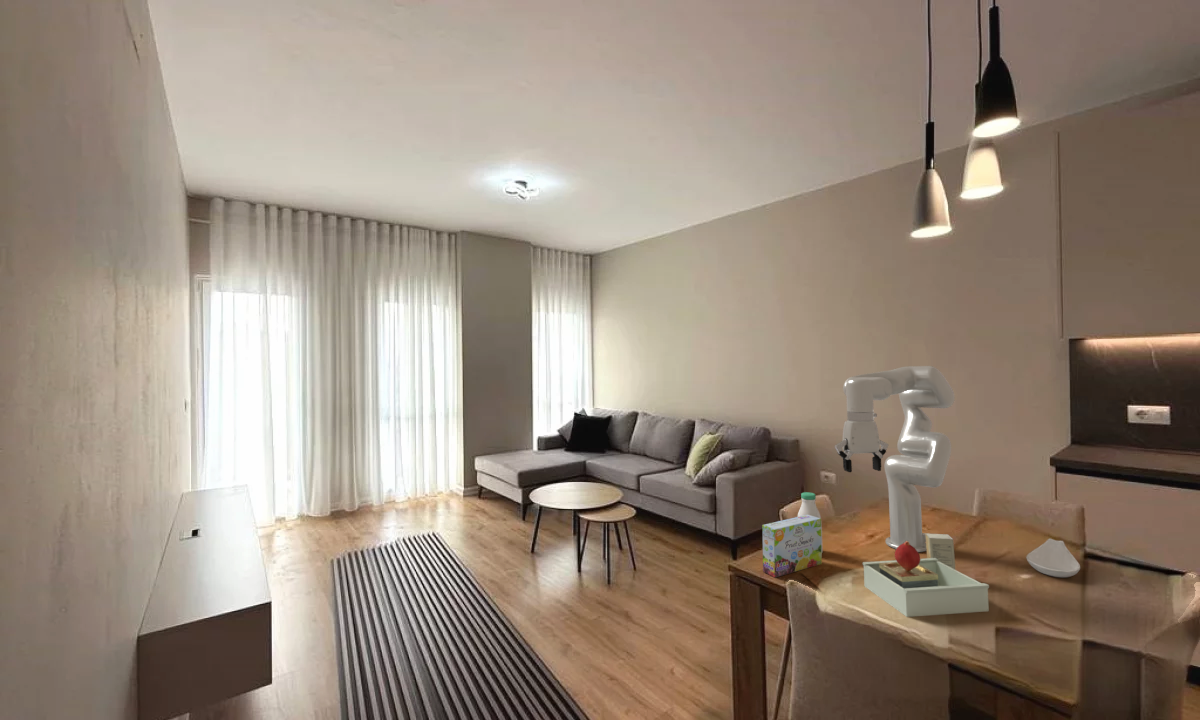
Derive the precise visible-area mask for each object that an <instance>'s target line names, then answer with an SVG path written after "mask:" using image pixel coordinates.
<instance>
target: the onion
mask: <svg viewBox="0 0 1200 720" xmlns="http://www.w3.org/2000/svg"><path fill="white" fill-rule="evenodd" d="M894 558H895V560H896V561H897V562H898V563H899V564H900V565H901V566H902V567H903V568H904V569H905V570H907V571H911V570H912V569H913V568H915V567H916V566H918V564H919V563H920V559H921V556H920V552H917V550H916V549H915V548H914V547H913V546H911V545H910V544H909V542H908V541H906V542H905V543H903V544H901V545H900V546H899V547H898V548H897V549H895V552H894Z"/></svg>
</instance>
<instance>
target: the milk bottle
mask: <svg viewBox="0 0 1200 720" xmlns="http://www.w3.org/2000/svg"><path fill="white" fill-rule="evenodd" d="M800 494H801V505H800V508H799V510H798V513H797V517H800V516H804V515H811V516H814V517H817V518H821V519H822V516H821V513H820V511H819V509H818V507H817V505H816V500H817V499H816V497H817V496H816V494H815V493H814V492H807V491H804V492H802V493H800ZM822 525H823V523H821V552H822V553H824V552H823V551H824V549H823V547H824V546H823V530H822V529H823V528H822Z"/></svg>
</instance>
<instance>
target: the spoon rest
mask: <svg viewBox="0 0 1200 720" xmlns="http://www.w3.org/2000/svg"><path fill="white" fill-rule="evenodd" d="M1025 557H1026V558H1025V559H1026V561H1027V562H1028V564H1029V565H1030V566H1031V567H1032V569H1035V570H1036V571H1037V572H1039V573H1041V574H1043V575H1045V576H1049V577H1054V578H1060V579H1061V578H1062V579H1063V578H1070V577H1072V576H1075V575H1077V574H1078V572H1079V571H1080V570H1081V565H1080V563H1079V562H1078V560H1077V559H1076V558H1075V556H1074V555H1073V554H1072V553H1071V552H1070V550H1069V549H1068V548H1067V546H1066V544H1065V541H1064V540H1055V539H1052V538H1048V539H1047V540H1046V541H1045V542H1043V543H1042V544H1040V546H1038V547H1036V548H1034V549H1033V550H1032V551H1030V552H1029V553H1027V555H1026V556H1025Z"/></svg>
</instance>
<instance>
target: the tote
mask: <svg viewBox="0 0 1200 720" xmlns="http://www.w3.org/2000/svg"><path fill="white" fill-rule="evenodd" d="M887 562H897V561H896V559H895V560H880V561H863V562H862V566H863V579H864V580H863V583H864V588H866V589H867V590H869V591H870V592H871V593H873V594H874V595H876V596H877V597H878V598H880V599H881V600H882V601H884V602H885V603H887V604H888V605H889V606H891V607H892V608H894V609H895V610H897V611H898V612H900V614H902V615H904V616H905V617H906V618H909V617H910V618H911V617H912V618H913V617H924V616H926V617H927V616H939V615H953V614H969V613H979V612H980V613H981V612H989V609H990V608H989V589H990V585H989V584H987V583H984V582H983V583H981V582H980V581H978V580H976V579H974V578H972V577H970V576H968V575H966V574H964V573H962V572H960V571H958V570H957V569H956V568H955V569H953V568H951V567H949V566H947V565H945V564H943V563H941V562H939V561H938V559H936V558H927V557H926V558H920V563H919V564H920V565H922V566H923V567H925V568H927V569H929V570H931V571H932V572H934V573H936V574H938V586H935V587H920V588H905V589H904V588H902V587H901V586H899V585H898V584H896V583H895V582H893V581H891V580H890V579H888V578H887V577H885V576H884V575H882V574H881V573H880V568H879V563H887Z"/></svg>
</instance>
